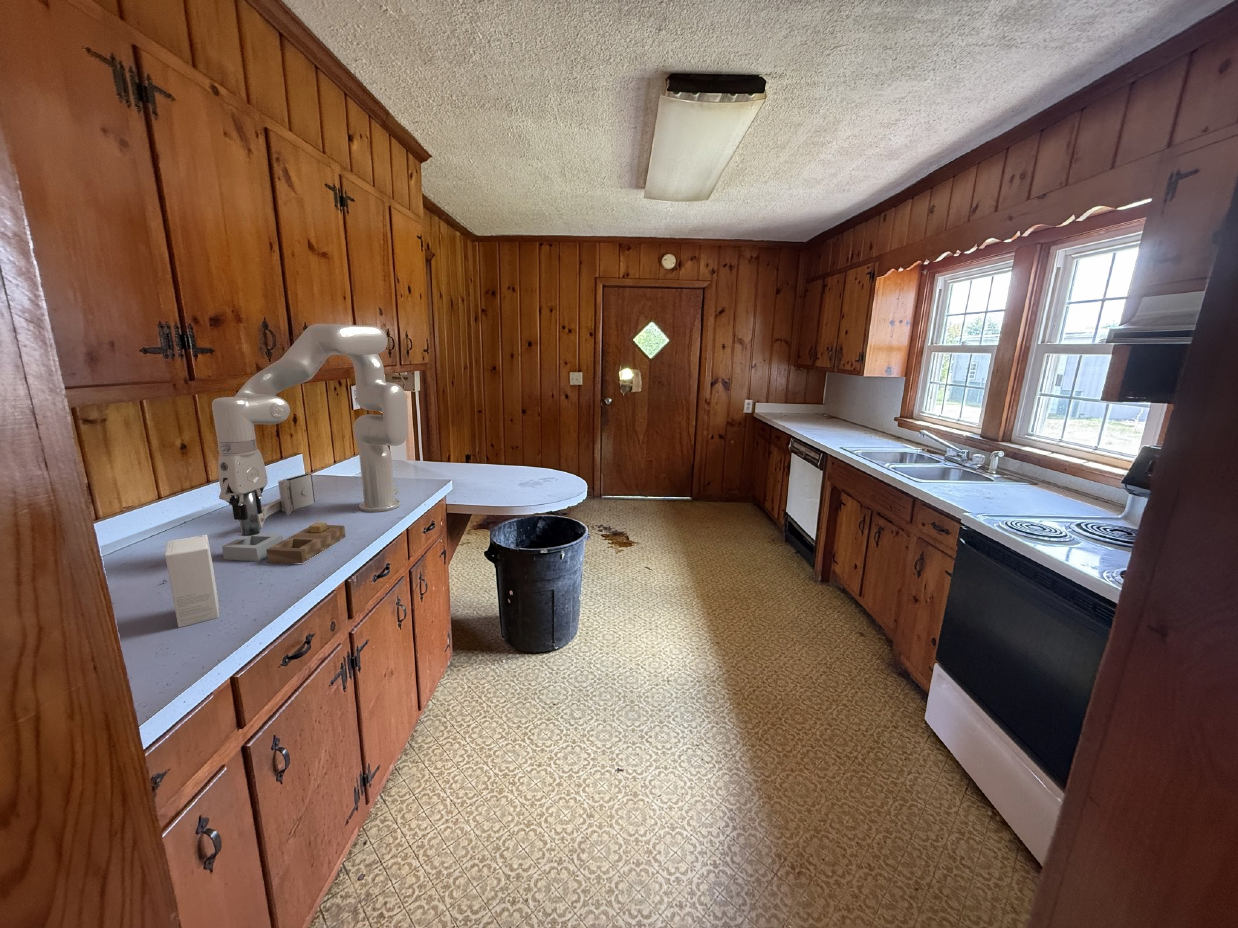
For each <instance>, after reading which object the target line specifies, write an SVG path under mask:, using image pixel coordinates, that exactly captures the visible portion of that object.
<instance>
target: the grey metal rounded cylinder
mask: <svg viewBox="0 0 1238 928" xmlns="http://www.w3.org/2000/svg"><path fill="white" fill-rule="evenodd" d="M235 498H236V499H238V496H235ZM243 505H246V509H247V516H248V519H247V520H238V521H239V528H240V534H241V537H243V536H252V535H256V534H261V529H260V525H259V518H258V511H257V504H256V497H255V491H251V492H249V493H246V494H244V497H243Z"/></svg>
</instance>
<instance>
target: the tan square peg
mask: <svg viewBox="0 0 1238 928" xmlns="http://www.w3.org/2000/svg"><path fill="white" fill-rule="evenodd" d="M327 525H328V523H327V522H322V521H321V522H319V521H317V522H314V523H312V524H310V525H309V526H308V527H309V529H310V533H320V534H321V533H323V532H325V531H326V530H328V529H327Z"/></svg>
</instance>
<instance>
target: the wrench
mask: <svg viewBox="0 0 1238 928" xmlns="http://www.w3.org/2000/svg"><path fill="white" fill-rule="evenodd" d="M280 510H282V506H281V498H280V497H279V498H278V499H276V500H274V501H272V502H270V503H268V504H266V505H265V506H262V513H261V514H258V518H259V525H260V530H263V527H264V526H263V525H264V523H265V521H266V519H267V518H268V517H269V516H270V515H273V514H275V513H277V512H279V511H280Z"/></svg>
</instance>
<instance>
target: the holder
mask: <svg viewBox="0 0 1238 928" xmlns="http://www.w3.org/2000/svg"><path fill="white" fill-rule="evenodd" d="M283 540H284V537H283V534H276V533H275V534H272V533H270V534H269V533H259V534H256V535H252V536H241V537H239V538H237V539H234V540H233V541H230V542H229V543H226V544H224V545H223V546H221V547H222V553H223V559H224V560H231V561H232V560H233V561H235V560H236V561H250V562H251V561H253V562H259V561H261V560H262V559H264V558H266V557H267V551H266V549H268V548H270V547H272V546H274V545H276V544H278V543H280V542H281V541H283Z"/></svg>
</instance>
